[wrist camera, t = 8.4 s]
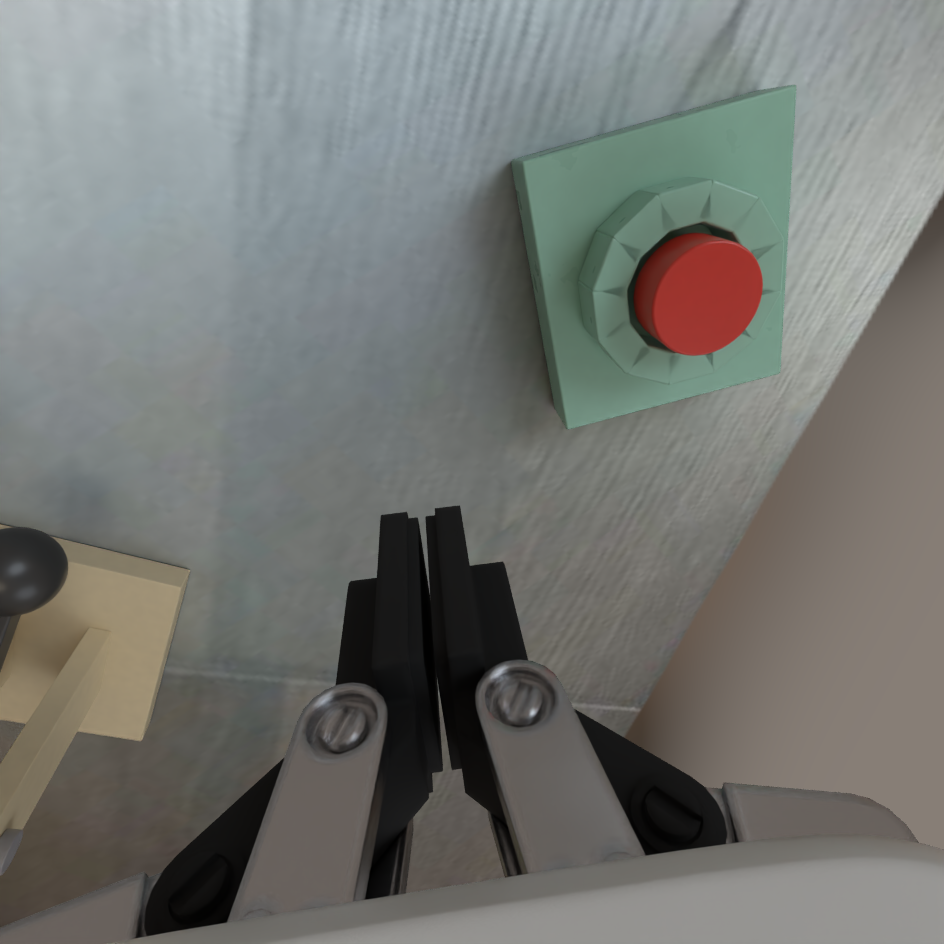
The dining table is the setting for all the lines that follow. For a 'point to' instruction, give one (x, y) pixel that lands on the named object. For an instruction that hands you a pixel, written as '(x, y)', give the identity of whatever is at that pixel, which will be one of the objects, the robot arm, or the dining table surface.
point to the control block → (654, 247)
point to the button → (698, 293)
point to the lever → (27, 577)
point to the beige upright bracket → (83, 669)
